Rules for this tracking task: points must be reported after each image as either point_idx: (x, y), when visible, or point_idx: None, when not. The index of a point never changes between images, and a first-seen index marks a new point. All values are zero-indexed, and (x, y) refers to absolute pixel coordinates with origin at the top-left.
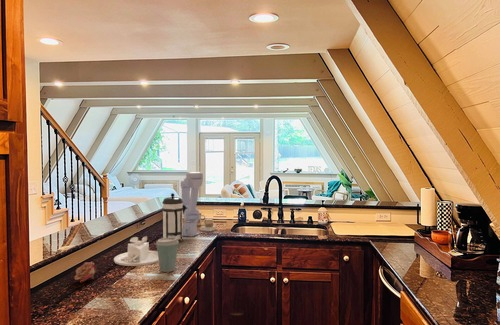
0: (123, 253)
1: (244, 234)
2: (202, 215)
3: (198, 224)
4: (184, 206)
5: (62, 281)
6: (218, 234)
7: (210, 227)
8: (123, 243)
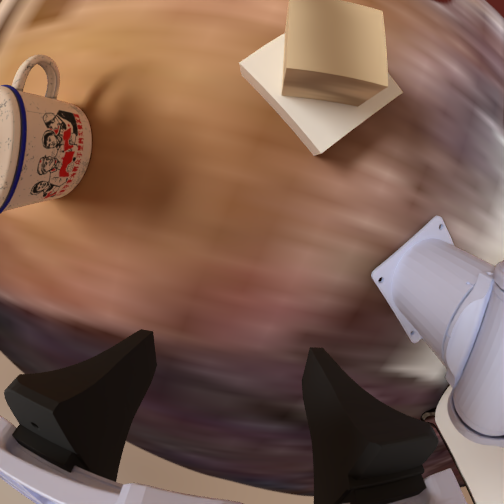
0: None
1: (487, 4)
2: (23, 76)
3: (87, 127)
4: (95, 460)
5: None
6: (479, 101)
7: None
8: None
